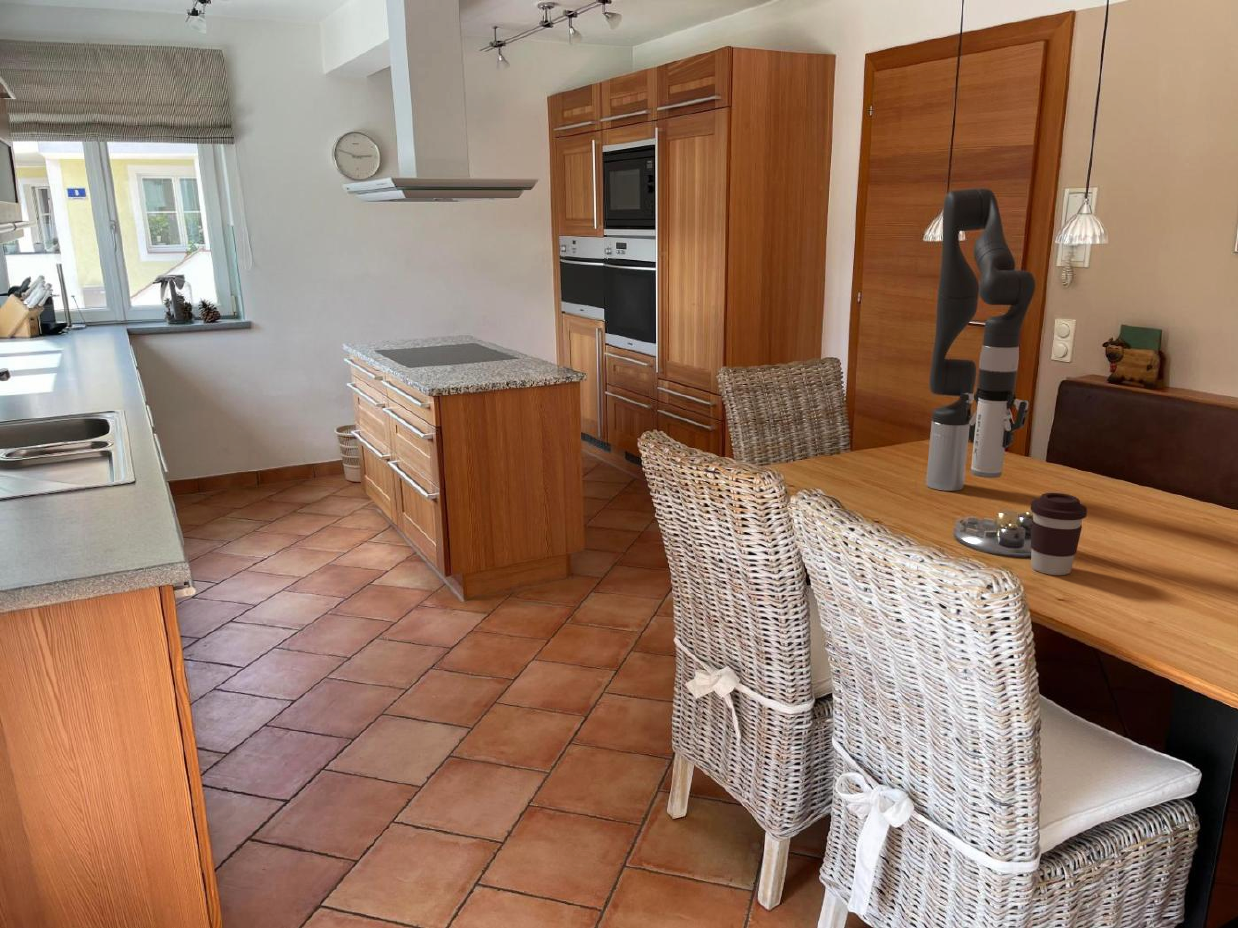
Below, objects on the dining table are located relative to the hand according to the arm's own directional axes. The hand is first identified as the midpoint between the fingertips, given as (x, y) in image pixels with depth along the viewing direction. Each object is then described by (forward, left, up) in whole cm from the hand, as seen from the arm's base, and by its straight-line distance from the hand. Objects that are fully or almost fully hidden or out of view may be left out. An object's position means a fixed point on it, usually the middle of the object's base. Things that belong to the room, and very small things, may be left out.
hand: (989, 444), depth 194 cm
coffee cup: (+11, +19, -21) cm, 30 cm away
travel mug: (0, 0, -7) cm, 7 cm away
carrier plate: (0, +6, -21) cm, 21 cm away
